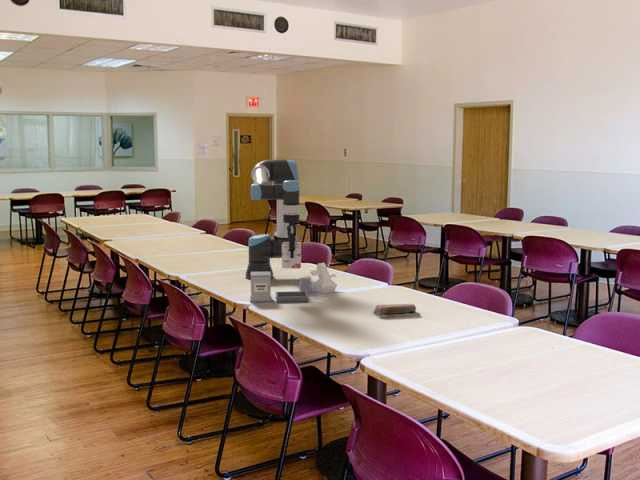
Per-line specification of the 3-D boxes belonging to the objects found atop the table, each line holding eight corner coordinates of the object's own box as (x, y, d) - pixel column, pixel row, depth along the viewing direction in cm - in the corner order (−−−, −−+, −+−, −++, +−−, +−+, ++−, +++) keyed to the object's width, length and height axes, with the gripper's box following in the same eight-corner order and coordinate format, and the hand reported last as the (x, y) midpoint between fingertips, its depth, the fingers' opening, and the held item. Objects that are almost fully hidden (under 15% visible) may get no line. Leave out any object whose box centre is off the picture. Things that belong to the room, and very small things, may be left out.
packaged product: (380, 308, 274) (372, 303, 284) (380, 319, 275) (372, 314, 284) (420, 306, 278) (412, 301, 288) (420, 317, 279) (412, 311, 288)
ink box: (301, 266, 309) (301, 241, 307) (300, 268, 304) (300, 243, 303) (283, 266, 310) (282, 241, 308) (281, 268, 305) (281, 243, 303)
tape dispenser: (341, 290, 328) (341, 263, 326) (318, 294, 320) (318, 266, 318) (331, 287, 335) (331, 261, 333) (308, 291, 327) (308, 264, 325)
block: (299, 291, 327) (299, 275, 326) (309, 291, 327) (309, 275, 326) (300, 293, 322) (300, 277, 321) (310, 293, 322) (310, 277, 321)
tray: (275, 296, 314) (275, 291, 314) (306, 296, 316) (306, 291, 315) (276, 302, 303) (276, 297, 302) (308, 301, 304) (308, 296, 304)
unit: (250, 297, 312) (249, 271, 310) (271, 297, 313) (271, 271, 311) (250, 302, 302) (249, 275, 301) (271, 302, 303) (271, 275, 302)
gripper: (282, 212, 313) (282, 260, 316) (284, 216, 294) (284, 267, 297) (298, 212, 313) (298, 260, 316) (300, 215, 295) (300, 267, 298)
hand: (291, 263), depth 307 cm, fingers closed on ink box, 5 cm apart
